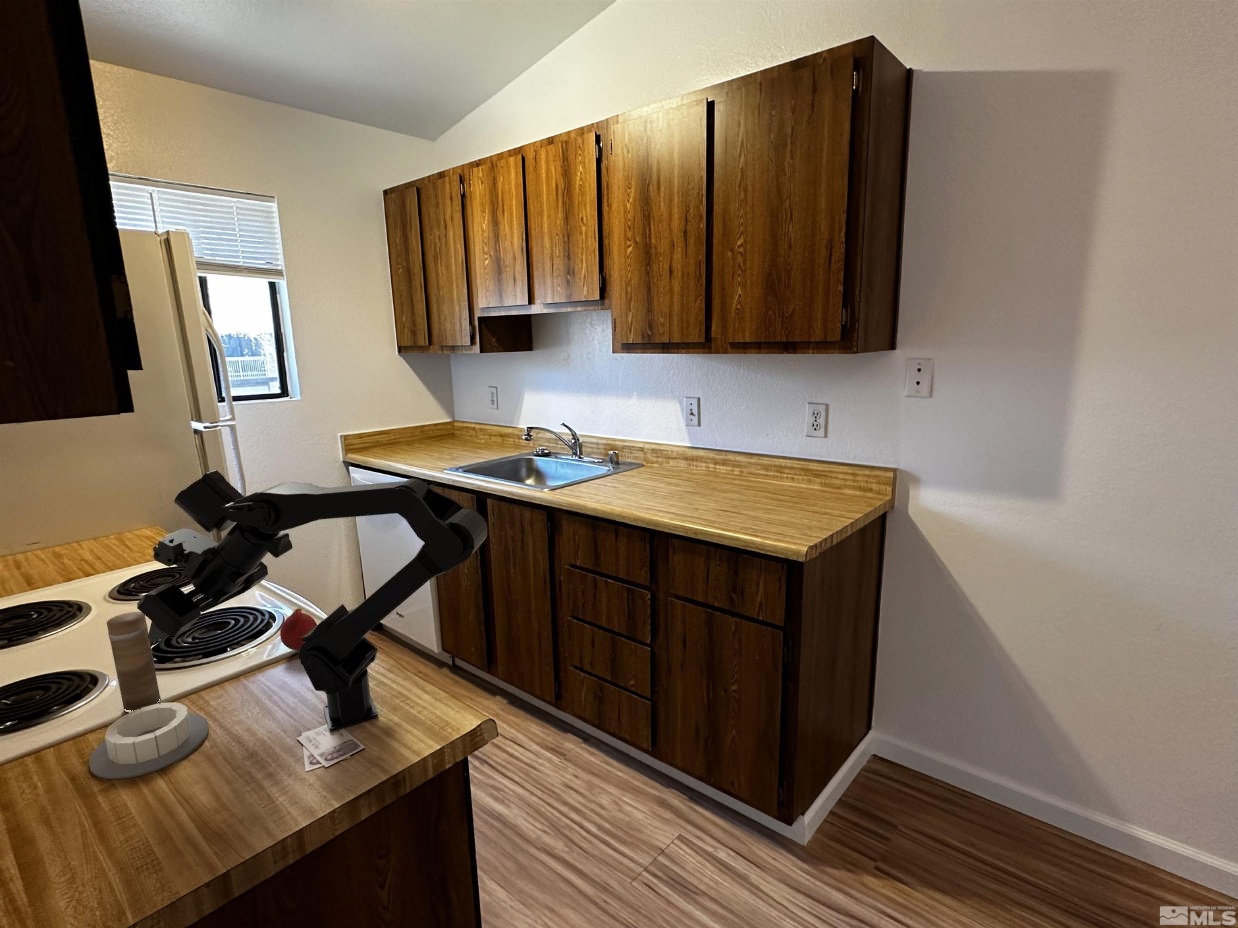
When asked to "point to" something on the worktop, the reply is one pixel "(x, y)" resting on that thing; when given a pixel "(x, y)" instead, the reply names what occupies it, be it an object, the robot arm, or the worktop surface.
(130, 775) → the holder cup
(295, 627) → the onion
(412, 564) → the robot arm
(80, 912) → the worktop surface
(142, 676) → the pepper mill
